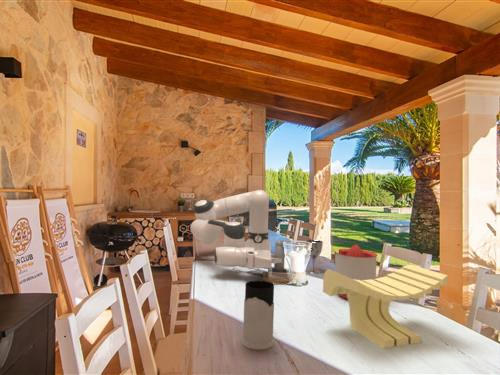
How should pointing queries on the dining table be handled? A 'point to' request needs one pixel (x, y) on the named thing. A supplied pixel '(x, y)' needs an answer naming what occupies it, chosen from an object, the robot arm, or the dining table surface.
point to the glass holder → (258, 315)
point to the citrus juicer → (355, 264)
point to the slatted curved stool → (383, 301)
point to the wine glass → (315, 253)
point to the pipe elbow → (279, 256)
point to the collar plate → (276, 276)
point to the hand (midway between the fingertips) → (281, 259)
